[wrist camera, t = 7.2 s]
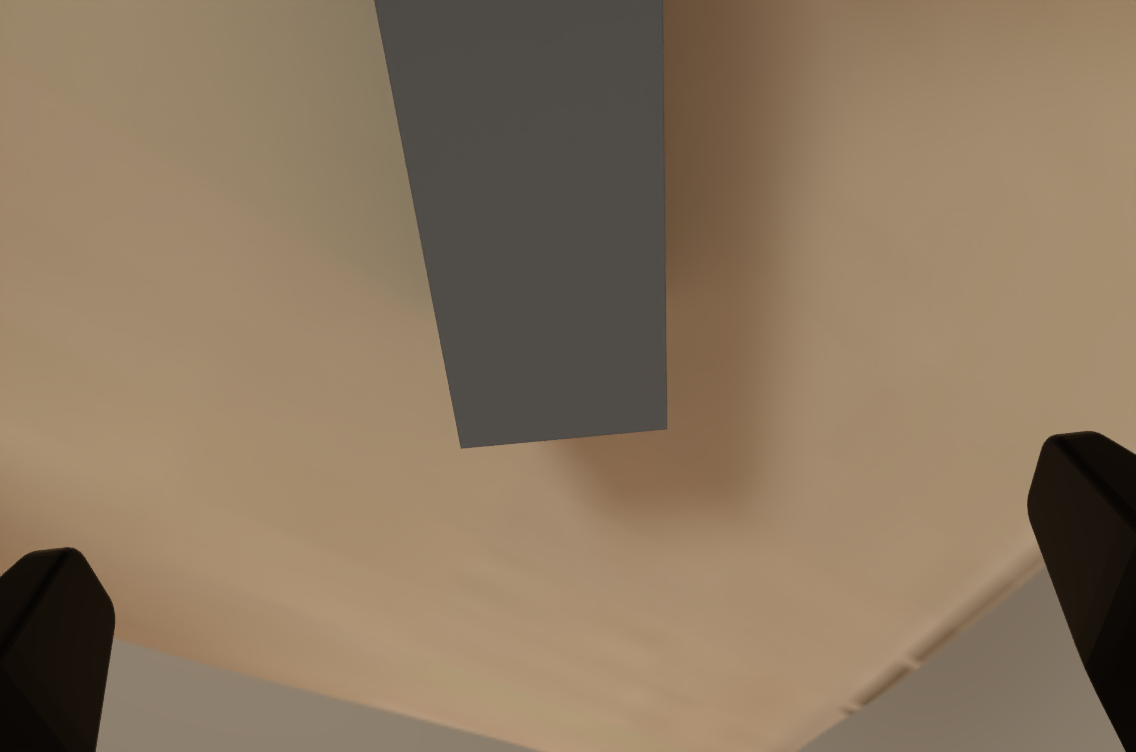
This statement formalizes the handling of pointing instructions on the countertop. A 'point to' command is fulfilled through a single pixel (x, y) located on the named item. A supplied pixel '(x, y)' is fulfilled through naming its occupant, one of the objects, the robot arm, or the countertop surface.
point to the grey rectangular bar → (538, 207)
